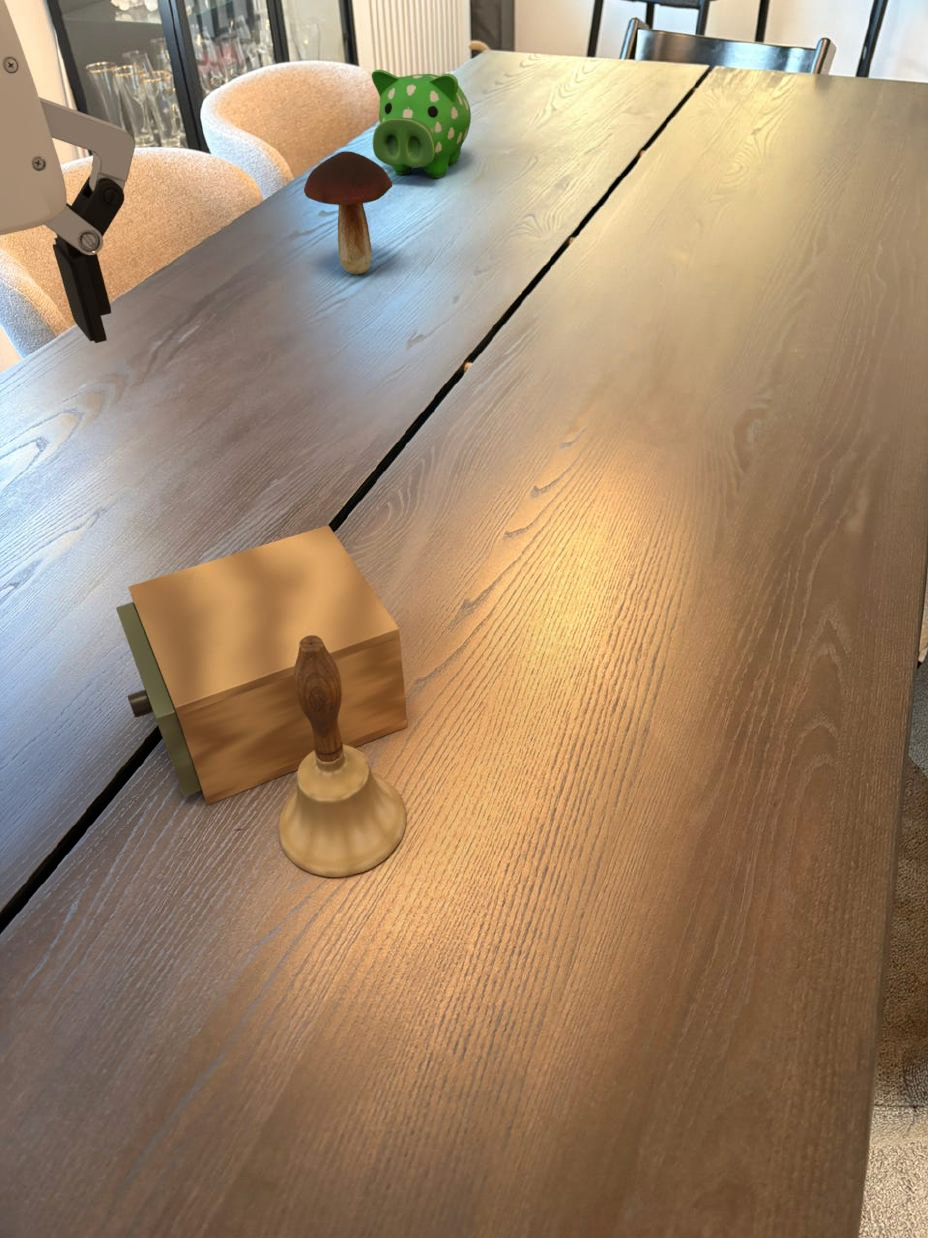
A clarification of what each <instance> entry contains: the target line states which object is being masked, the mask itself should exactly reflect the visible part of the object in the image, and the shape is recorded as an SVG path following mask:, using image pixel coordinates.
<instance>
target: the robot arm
mask: <svg viewBox="0 0 928 1238" xmlns="http://www.w3.org/2000/svg"><path fill="white" fill-rule="evenodd" d="M53 139H55V140H57V141H60V142H64V143H67V144H70V145H72V146H75V147H78V148H81V149H84V150H87V151H90V152H91V155H92V162H91V172H90V175H88V177H87V178H86V180H85V181H84V184H82V186H81V188H80V190H79V192H78V193H77V195H76V197H75V199H74V200H73V202H72V204H70V203H68V199H67V196H68V195H67V188H66V183H65V178H64V173H63V171H62V166H61V163H60V160H59V156H58V153H57V149H56V146H55V143H54V140H53ZM135 148H136V143H135V138H133V136H132V135H131V134H130V133H128V132H127V131H126V130H124V129H123V128H122V127H121V126H119V125H117V124H113V123H112V122H109V121H106V120H103V119H101V118H98V117H95V116H92V115H89V114H86V113H83V112H81V111H79V110H76V109H74V108H71V107H68V106H65V105H62V104H59V103H57V102H54V101H52V100H49V99H45V98H43V97H41V96H39V94H38V91H37V87H36V84H35V81H34V78H33V75H32V72H31V69H30V66H29V63H28V61H27V58H26V55H25V52H24V49H23V46H22V44H21V40H20V38H19V35H18V32H17V30H16V26H15V24H14V22H13V19H12V15H11V13H10V11H9V8H8V6H7V3H6V0H0V236H5V235H10V234H15V233H18V232H24V231H28V230H31V229H35V228H38V227H41V226H45V227H46V228H47V229H49V230H50V231H52V232H53V233H55V234H56V237H54V242H55V243H53V244H52V251H53V253H54V257H55V260H56V264H57V268H58V270H59V274H60V277H61V281H62V284H63V288H64V291H65V295H66V299H67V302H68V306H69V309H70V312H71V316H72V319H73V321H74V323H75V324H76V326H78V327H79V329H80V331H81V332H82V333H83V334H84V336H85V337H86V338H87V339H88V341H89V342H94V343H95V344H98V343H102V342H107V340H108V339H107V338H108V337H107V334H106V331H105V326H104V322H103V319H102V316H103V317H104V316H106V315H110V314H112V307H111V302H110V299H109V296H108V291H107V288H106V284H105V280H104V275H103V272H102V268H101V263H100V260H99V256H98V253H99V252H101V251H102V248H103V247H104V239H103V238H104V236H105V234H106V233H107V231H108V229H109V227H110V226H111V224H112V223H113V221H114V220H115V218H116V216H117V215H118V213H119V211H120V209H121V208H122V206H123V204H124V202H125V192H124V190H125V186H126V183H127V182H128V179H129V175H130V171H131V166H132V161H133V157H134V154H135Z"/></svg>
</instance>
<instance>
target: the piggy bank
mask: <svg viewBox="0 0 928 1238" xmlns="http://www.w3.org/2000/svg"><path fill="white" fill-rule="evenodd" d="M371 78H372V82H373V84H374V87H375V89H376V91H377V94H378V95H379V102H378V103H379V104H378V119H379V123H378V125H377V126H376V128H375V129H374V132H373V135H372V150H373V153H374V155H375V157H376V159H378V160H379V161H380V162H381V163H383V164H386V165H389V166H391V168H392V169H393V171H394V173H395V174H396V175H399V176H405V175H409V174H410V173H411V172H412V170H413V169H417V168H422V169H423V171H424V172H425V174H426V175H427V177H428V178H432V179H441V178H443V177H445V176H446V174H447V171H448V170H449V167H453V166H455V165H456V164H457V163H458V161H459V159H460V158H461V152H462V146H463V144H464V142H465V140H466V138H467V136H468V133H469V130H470V126H471V122H472V121H471V120H472V113H471V107H470V103H469V101H468V98H467V97H466V95H465V93H464V91H463V89H462V88H461V87H460V85H459V80H458V78H457V77H456V76H455V75H454V74H451V73H446V74H441V75H438V74H432V73H416V74H409V75H405V76H396V75H395V74H392V73H390V72H388V71H387V70H383V69H375V70H374V71H372V72H371Z"/></svg>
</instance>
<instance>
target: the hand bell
mask: <svg viewBox="0 0 928 1238" xmlns="http://www.w3.org/2000/svg"><path fill="white" fill-rule="evenodd" d="M294 685H295V691H296V695H297V699H298V702H299V704H300V707H301V709H302V711H303V712H304V714H305V715H306V717H307V718H308V720H309V721H310V723H311V726H312V731H313V740H314V751H312V752H311V753H310V754H308V755H307V756H306V757H305V758H304V760H303V761H302V763H301V764H300V766H299V769H298V770H297V773H296V783H297V785H296V786H297V787H296V789H295V790H294V791H293V792H292V793H291V794H290V796H289V797H288V799H287V800H286V802H285V803H284V805H283V807H282V809H281V812H280V815H279V818H278V824H277V833H278V834H277V835H278V841H279V843H280V847H281V848H282V851H283V852H284V854H285V855H286V856H287V858H288V859H289V860H290V861H291V862H292V863H293V864H295V865H296V866H297V867H299V868H300V869H302V870H304V871H305V872H308V873H310V874H313V875H317V876H320V877H327V878H341V877H349V876H352V875H353V876H354V875H357V874H359V873H364V872H367V871H368V870H370V869H372V868H375V866H377V865H379V864H381V863H382V862H383V861H385V860H386V859H387V858H388V857H389V856H390V855H391V854H393V852H394V850H395V849H396V847H397V846H398V845H399V843H400V842H401V840H402V839H403V836H404V834H405V830H406V826H407V810H406V809H407V808H406V805H405V802H404V800H403V798H402V796H401V794H400V792H399V791H398V789H396V788H395V786H394V785H393V784H391V783H390V782H389V781H388V780H387V779H386V778H384V777H382V776H381V775H379V774H376V773H373V772H372V770H371V768H370V765H369V762H368V760H367V758H366V757H365V755H364V754H363V752H361V751H360V750H358V749H357V748H356V747H354V748H353V747H351V746H347V745H343V744H342V741H341V736H340V732H339V727H338V714H339V710H340V706H341V700H342V688H341V679H340V674H339V671H338V668H337V665H336V663H335V661H334V660H333V658H332V656H331V655H330V653H329V652H328V651H327V649H326V647H325V646H324V643H323V641H322V639H321V638H320V637H318V636H315V635H310V636H306V637H304V638H303V639H301V641H300V643H299V652H298V656H297V660H296V663H295V669H294Z"/></svg>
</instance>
